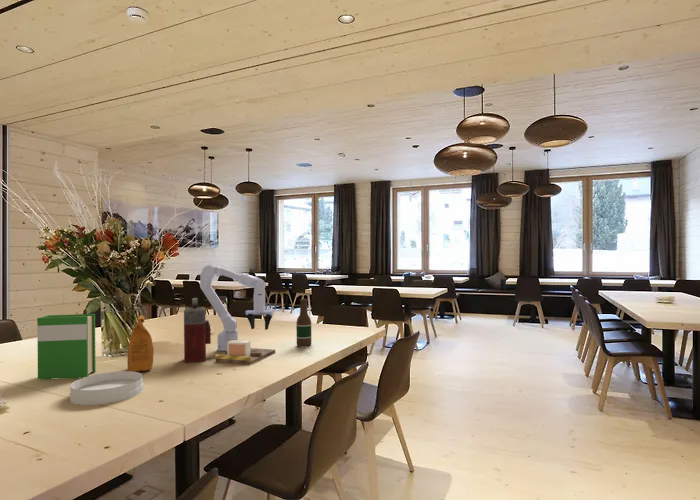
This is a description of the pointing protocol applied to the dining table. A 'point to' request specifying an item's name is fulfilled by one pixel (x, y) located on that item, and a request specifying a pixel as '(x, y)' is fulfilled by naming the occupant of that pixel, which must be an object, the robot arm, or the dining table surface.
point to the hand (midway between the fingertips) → (259, 329)
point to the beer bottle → (303, 326)
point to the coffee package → (140, 348)
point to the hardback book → (66, 346)
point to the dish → (106, 388)
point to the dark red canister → (195, 333)
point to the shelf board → (255, 356)
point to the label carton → (239, 348)
